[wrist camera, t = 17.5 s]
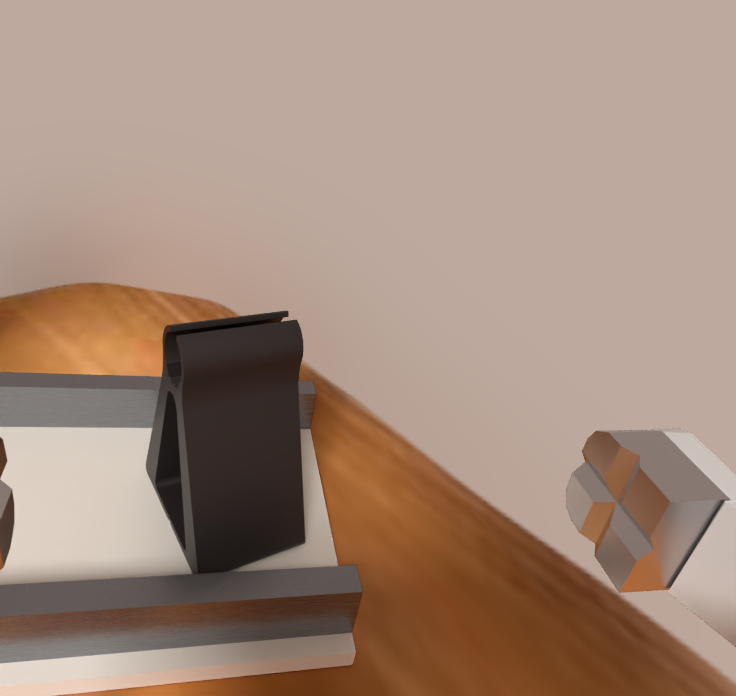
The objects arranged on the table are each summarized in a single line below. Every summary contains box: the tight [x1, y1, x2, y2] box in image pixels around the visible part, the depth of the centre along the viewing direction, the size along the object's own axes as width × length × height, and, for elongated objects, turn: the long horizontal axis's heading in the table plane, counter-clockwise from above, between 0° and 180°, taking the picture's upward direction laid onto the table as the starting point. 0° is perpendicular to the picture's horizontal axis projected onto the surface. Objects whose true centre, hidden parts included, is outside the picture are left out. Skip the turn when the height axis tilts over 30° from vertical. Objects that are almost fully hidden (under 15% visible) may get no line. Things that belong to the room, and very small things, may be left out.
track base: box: [0, 427, 356, 696], centre depth 33 cm, size 22×19×1 cm
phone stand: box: [146, 311, 305, 574], centre depth 31 cm, size 9×6×12 cm, turn 33°
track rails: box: [0, 372, 363, 663], centre depth 32 cm, size 22×17×3 cm
